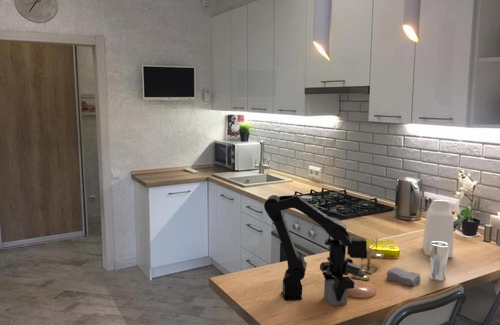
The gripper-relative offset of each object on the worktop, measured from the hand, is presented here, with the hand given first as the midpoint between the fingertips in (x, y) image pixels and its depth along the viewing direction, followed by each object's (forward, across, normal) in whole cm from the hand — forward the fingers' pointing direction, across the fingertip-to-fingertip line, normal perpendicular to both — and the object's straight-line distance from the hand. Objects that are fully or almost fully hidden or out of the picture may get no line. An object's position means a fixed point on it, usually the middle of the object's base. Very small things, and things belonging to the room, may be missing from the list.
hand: (335, 296), depth 160 cm
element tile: (+2, +45, -42) cm, 61 cm away
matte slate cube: (+2, 0, 0) cm, 2 cm away
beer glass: (+2, +12, -50) cm, 51 cm away
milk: (+2, +40, -69) cm, 80 cm away
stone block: (+2, +13, -36) cm, 38 cm away
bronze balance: (+2, +24, -25) cm, 35 cm away
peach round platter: (+2, +7, -12) cm, 14 cm away
